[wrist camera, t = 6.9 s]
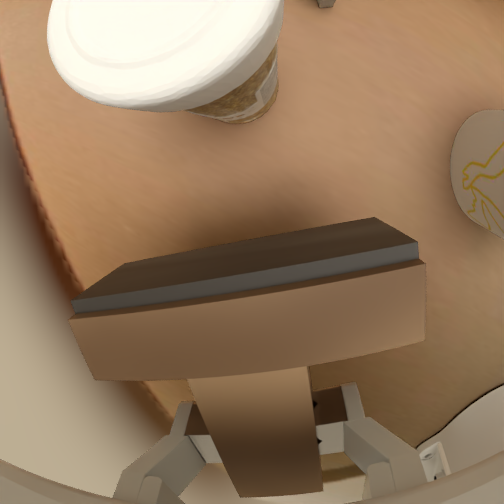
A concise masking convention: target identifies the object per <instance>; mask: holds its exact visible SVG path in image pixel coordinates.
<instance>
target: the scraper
mask: <svg viewBox="0 0 504 504" xmlns="http://www.w3.org/2000/svg"><path fill="white" fill-rule="evenodd" d="M71 303H72V306H73V309H74V311H75V315H73V316H72V317H71V318H70V319H68V321H69V324H70V326H71V329H72V331H73V333H74V336H75V338H76V340H77V343H78V345H79V347H80V349H81V352H82V354H83V356H84V358H85V361H86V363H87V365H88V367H89V369H90V371H91V373H92V375H93V377H94V379H95V380H107V381H110V380H111V381H150V380H179V379H187V381H188V383H189V386H190V388H191V391H192V393H193V396H194V398H195V401H196V403H197V406H198V408H199V411H200V413H201V415H202V418H203V420H204V422H205V425H206V427H207V429H208V432H209V434H210V436H211V438H212V440H213V443H214V445H215V447H216V449H217V451H218V454H219V456H220V458H221V460H222V462H223V464H224V466H225V468H226V470H227V472H228V474H229V476H230V478H231V480H232V482H233V484H234V486H235V488H236V490H237V492H238V494H239V496H240V497H269V496H284V495H295V494H305V493H313V492H321V491H323V482H322V470H321V459H320V455H319V449H318V441H317V434H316V427H315V418H314V406H313V399H312V383H311V376H310V369H309V366H311V365H317V364H323V363H328V362H334V361H339V360H344V359H349V358H354V357H359V356H364V355H368V354H373V353H377V352H382V351H386V350H390V349H394V348H398V347H402V346H406V345H410V344H414V343H418V342H421V341H425V327H426V263H424V262H423V261H421V260H420V259H419V252H418V242H417V241H415V240H414V239H412V238H410V237H409V236H407V235H405V234H403V233H402V232H400V231H398V230H397V229H395V228H393V227H391V226H389V225H388V224H386V223H384V222H382V221H381V220H379V219H377V218H375V217H373V218H367V219H361V220H355V221H350V222H344V223H338V224H333V225H327V226H321V227H316V228H310V229H305V230H299V231H293V232H288V233H282V234H277V235H271V236H266V237H261V238H255V239H250V240H244V241H239V242H234V243H228V244H223V245H218V246H212V247H207V248H202V249H196V250H191V251H186V252H181V253H176V254H170V255H165V256H160V257H155V258H150V259H145V260H140V261H135V262H129V263H124V264H123V265H121V266H120V267H119V268H117V269H116V270H114V271H113V272H111V273H110V274H108V275H107V276H105V277H104V278H102V279H101V280H99V281H98V282H97V283H95V284H94V285H92V286H91V287H89V288H88V289H86V290H85V291H84V292H82V293H81V294H79V295H78V296H77V297H75V298H74V299H72V300H71Z"/></svg>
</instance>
